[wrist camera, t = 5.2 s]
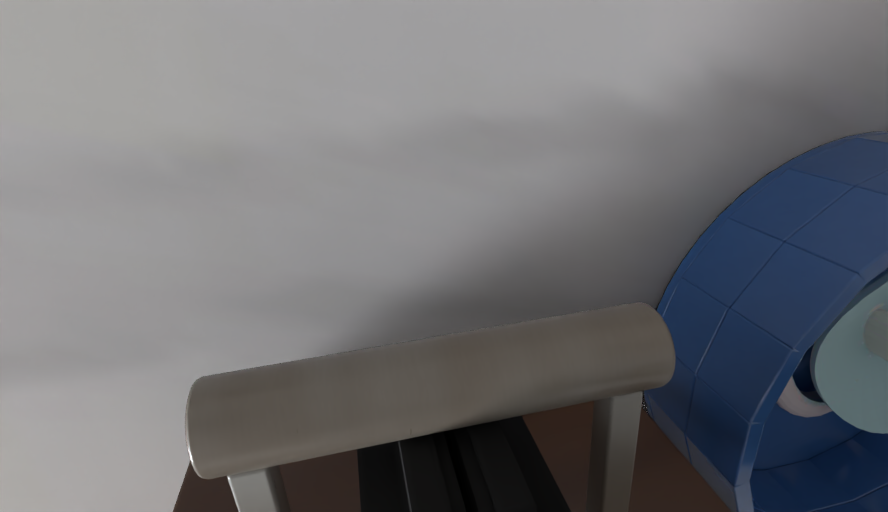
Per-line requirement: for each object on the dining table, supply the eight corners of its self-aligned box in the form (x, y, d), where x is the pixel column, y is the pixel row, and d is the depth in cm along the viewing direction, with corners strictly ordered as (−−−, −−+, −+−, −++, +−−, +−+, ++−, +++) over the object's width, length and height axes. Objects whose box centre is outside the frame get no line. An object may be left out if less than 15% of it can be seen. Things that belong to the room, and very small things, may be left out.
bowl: (667, 155, 14) (804, 199, 10) (1046, 110, 16) (1282, 131, 12) (625, 502, 20) (701, 620, 16) (910, 432, 22) (1041, 520, 18)
